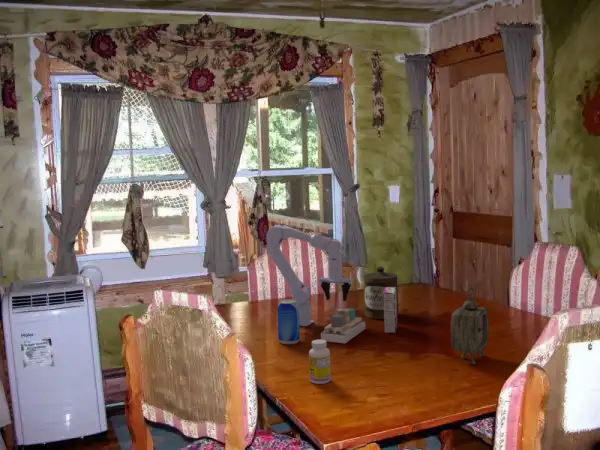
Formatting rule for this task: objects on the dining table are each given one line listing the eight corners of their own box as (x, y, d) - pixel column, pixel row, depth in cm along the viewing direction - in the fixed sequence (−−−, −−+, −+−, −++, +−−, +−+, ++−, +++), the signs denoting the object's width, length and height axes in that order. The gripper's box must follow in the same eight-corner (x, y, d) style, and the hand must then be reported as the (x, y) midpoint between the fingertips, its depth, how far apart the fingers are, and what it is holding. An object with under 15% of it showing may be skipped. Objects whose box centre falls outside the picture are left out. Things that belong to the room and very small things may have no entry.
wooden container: (360, 318, 274) (359, 268, 272) (369, 310, 288) (369, 263, 286) (393, 320, 269) (393, 270, 266) (401, 312, 282) (401, 264, 280)
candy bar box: (385, 325, 261) (384, 287, 259) (397, 326, 260) (396, 287, 258) (383, 333, 250) (382, 292, 248) (396, 333, 249) (395, 292, 247)
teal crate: (342, 319, 253) (342, 310, 252) (346, 317, 256) (345, 307, 256) (351, 320, 251) (351, 310, 251) (355, 318, 255) (355, 308, 254)
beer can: (303, 339, 244) (301, 299, 243) (295, 345, 236) (294, 304, 235) (282, 338, 247) (281, 298, 245) (275, 344, 239) (273, 303, 238)
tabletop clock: (476, 367, 206) (476, 292, 203) (449, 363, 211) (449, 290, 208) (488, 355, 218) (488, 284, 215) (463, 351, 223) (462, 282, 220)
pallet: (324, 332, 242) (324, 314, 241) (343, 320, 259) (342, 304, 258) (343, 334, 239) (343, 316, 238) (361, 322, 256) (361, 305, 255)
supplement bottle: (308, 378, 201) (307, 339, 199) (329, 376, 201) (328, 337, 200) (310, 385, 194) (309, 345, 193) (332, 384, 195) (331, 343, 193)
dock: (321, 340, 242) (320, 332, 241) (342, 326, 261) (342, 319, 261) (345, 343, 237) (344, 335, 237) (365, 328, 257) (365, 321, 257)
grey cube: (331, 326, 243) (331, 316, 243) (335, 323, 247) (335, 314, 246) (340, 327, 241) (340, 317, 241) (344, 324, 245) (344, 314, 244)
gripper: (315, 269, 263) (316, 301, 264) (347, 270, 256) (348, 303, 257) (322, 266, 269) (323, 297, 270) (353, 267, 262) (355, 299, 264)
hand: (336, 300), depth 264 cm, fingers open, 7 cm apart
